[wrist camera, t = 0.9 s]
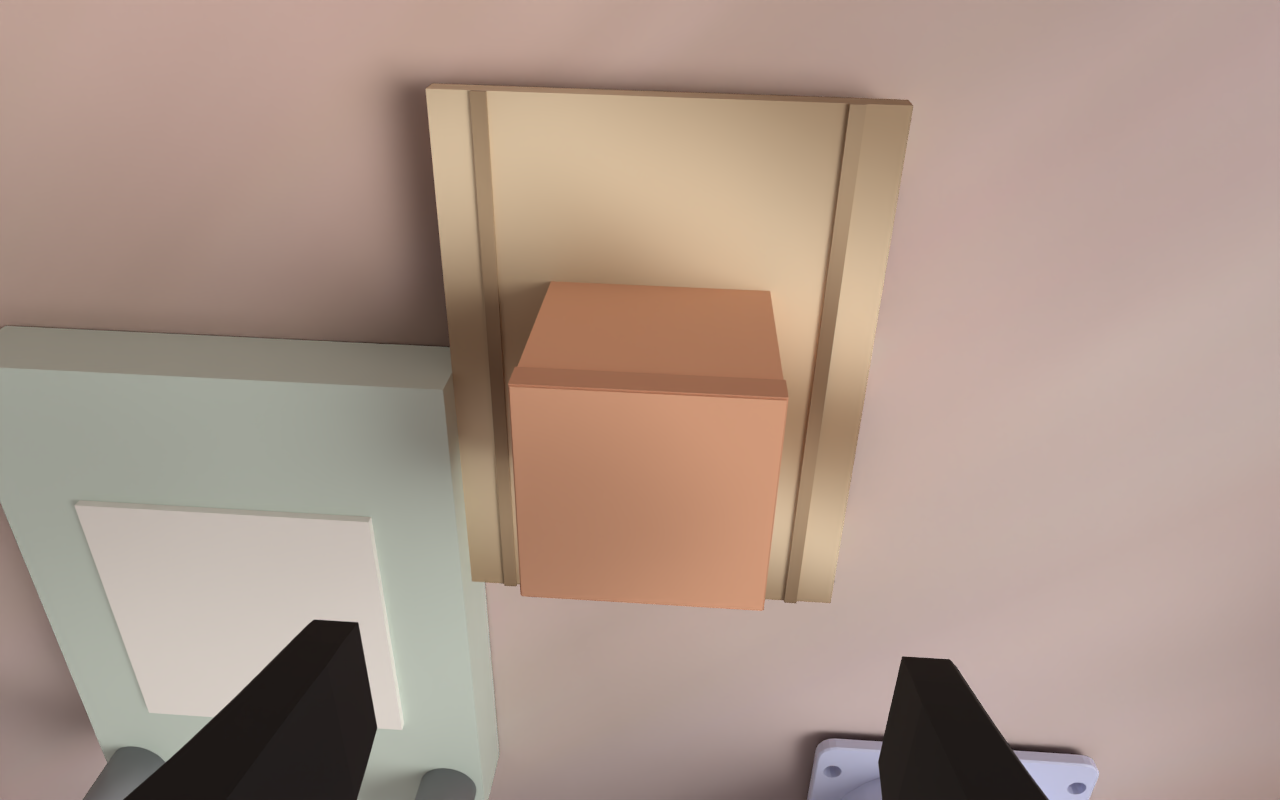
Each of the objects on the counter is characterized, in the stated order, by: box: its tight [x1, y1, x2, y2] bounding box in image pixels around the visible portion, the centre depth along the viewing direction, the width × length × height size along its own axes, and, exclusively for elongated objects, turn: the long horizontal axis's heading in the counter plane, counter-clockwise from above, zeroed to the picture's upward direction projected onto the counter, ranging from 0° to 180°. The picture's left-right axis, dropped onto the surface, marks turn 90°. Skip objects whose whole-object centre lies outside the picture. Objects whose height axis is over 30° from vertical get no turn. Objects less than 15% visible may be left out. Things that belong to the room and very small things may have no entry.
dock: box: [0, 326, 499, 800], centre depth 22 cm, size 14×11×5 cm
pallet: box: [426, 84, 913, 603], centre depth 20 cm, size 12×9×1 cm
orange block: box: [508, 281, 789, 611], centre depth 18 cm, size 5×5×4 cm
